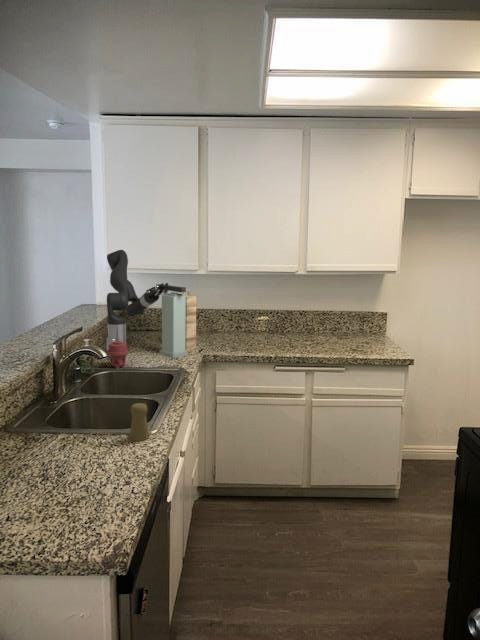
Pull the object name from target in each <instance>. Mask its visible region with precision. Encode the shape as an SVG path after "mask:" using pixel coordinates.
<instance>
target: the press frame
mask: <svg viewBox="0 0 480 640" xmlns="http://www.w3.org/2000/svg"><path fill="white" fill-rule="evenodd" d="M184 295H185V294H184V293H182V292H175V291H169V293H168V292H167V293H162V295H161V349H159V351H158V352H159V353H158V354H159V355H162V356H166V357H169V358H172V359H174V358H180V357H184V356H185V357H186V356H188V355H189V350H185V309H186V296H184Z"/></svg>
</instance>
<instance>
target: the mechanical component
mask: <svg viewBox="0 0 480 640" xmlns="http://www.w3.org/2000/svg"><path fill="white" fill-rule="evenodd" d="M127 346H128V345H127V342H126V343H123V342H121V341H115V342H113V343H110V344H109V350H108V351H107V350H106V355H107V354H108V355H110V356H109V357H110V358H109V359H110V365H111V366H112V367H113V366H114V368H115V369H116V368H119V369H120V367H121V368H124V367H123V366H125V367H126V361H127V360H126V356H127V355H129V349H128V347H127ZM125 355H126V356H125Z"/></svg>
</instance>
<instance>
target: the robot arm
mask: <svg viewBox="0 0 480 640" xmlns="http://www.w3.org/2000/svg"><path fill="white" fill-rule="evenodd" d="M106 261H107V263H108V265H109V267H110V269H111V272H110V274H109V275H110V276H109V283H110V285H111V287H112V288H113V289H114V290H115V291H116V292H108V293H107V295H106V309H107V311H106V312H107V337H106V352H107V351H108V350H109V344H110V343H113V342H115V341H121V342H123V343H126V344H127V319H126V317H124V316H122V315H119V314H117V313H115V311H125V312H126V315H127V316H129V317H130V318H131V317H136V316H141V315H143V314H144V312H145V310H147V309H148V308H149V307H151V306H152V305H153V304H155V303H156V302H157V301H158V300H159V299H160V296H162V295H163V293H168V292H169V291H168V290H161V289H162V288H163V287H164V285H169V283H168V282H166V283H164V282H162V283H159V284H160V285H159V286H157V287H156V286H152V287H151V288H149V289H146V290H145V292H144V293H143V294H142V295H141V296H140V297H138V296H137V294H136V291H135V289H134V288H135V287H134V285H133V284H132V282H131V281H130V280H128V265H129V258H128V255H127V252H126V251H125V250H124V249H118V250H116V251H113V252H110V253H108V254H106ZM129 302H130V304H129ZM108 357H110V355H108ZM125 357H127V355H125Z"/></svg>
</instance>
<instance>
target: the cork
mask: <svg viewBox="0 0 480 640" xmlns="http://www.w3.org/2000/svg"><path fill="white" fill-rule="evenodd" d="M147 413H148V406H147V404H146V403H141V402H138V403H137V402H136V403H133V404H132V405H131V407H130V414H131V423H130V424H131V425H130V432H129V440H130V441H132V442H134V443H135V442H136V443H137V442H138V443H140V442H145V441H148V440H149V439H150V434H149V426H148V421H147Z"/></svg>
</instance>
